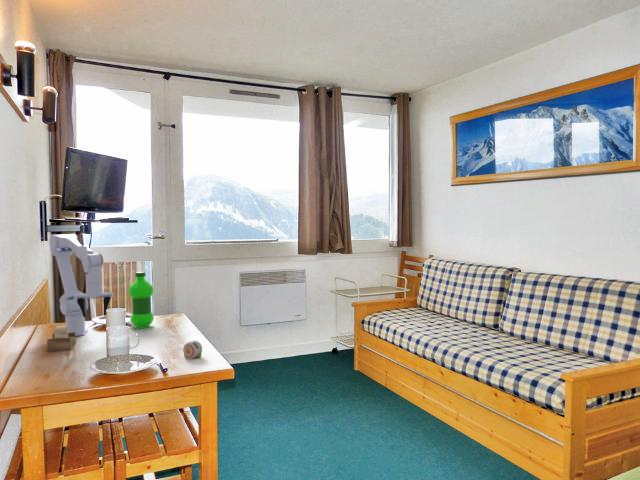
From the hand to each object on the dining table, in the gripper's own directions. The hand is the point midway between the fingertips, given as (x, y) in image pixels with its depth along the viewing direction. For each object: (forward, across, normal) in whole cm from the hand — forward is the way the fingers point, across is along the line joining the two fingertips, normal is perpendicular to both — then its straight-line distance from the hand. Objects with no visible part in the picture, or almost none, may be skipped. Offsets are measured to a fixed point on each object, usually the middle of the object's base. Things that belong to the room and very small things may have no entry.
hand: (94, 315), depth 202 cm
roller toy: (+10, +37, -41) cm, 56 cm away
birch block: (+7, -11, -8) cm, 15 cm away
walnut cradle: (+10, -11, -8) cm, 17 cm away
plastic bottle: (+10, +17, +19) cm, 27 cm away
